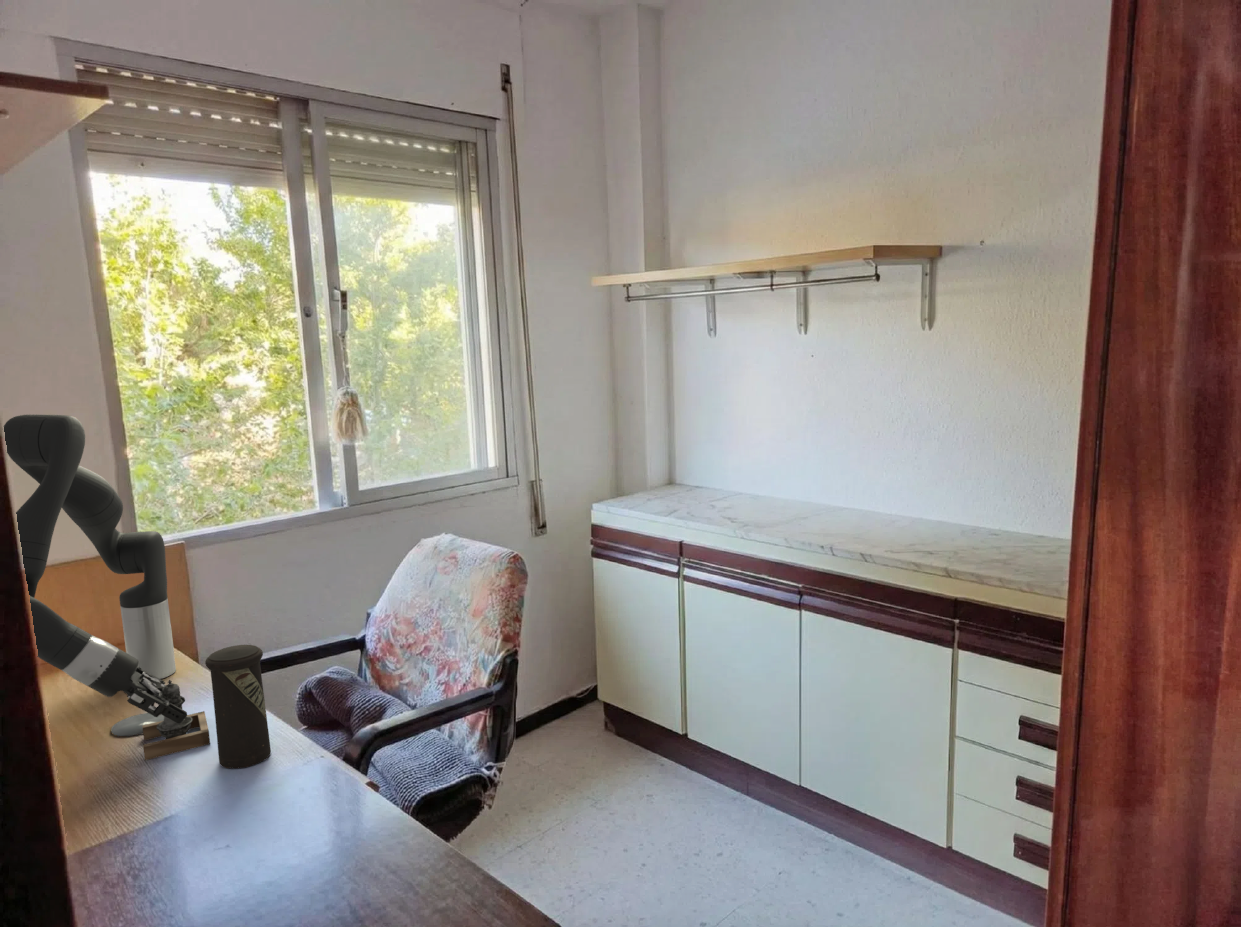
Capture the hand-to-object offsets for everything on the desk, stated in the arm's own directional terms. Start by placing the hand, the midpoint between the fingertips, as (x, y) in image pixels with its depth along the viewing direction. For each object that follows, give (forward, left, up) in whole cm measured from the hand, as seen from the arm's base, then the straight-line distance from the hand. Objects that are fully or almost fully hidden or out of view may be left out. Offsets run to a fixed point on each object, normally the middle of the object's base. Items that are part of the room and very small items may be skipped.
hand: (182, 711), depth 148 cm
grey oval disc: (-12, -8, -5) cm, 15 cm away
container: (+15, +8, -6) cm, 18 cm away
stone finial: (0, -2, -6) cm, 6 cm away
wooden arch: (0, -2, -5) cm, 6 cm away
